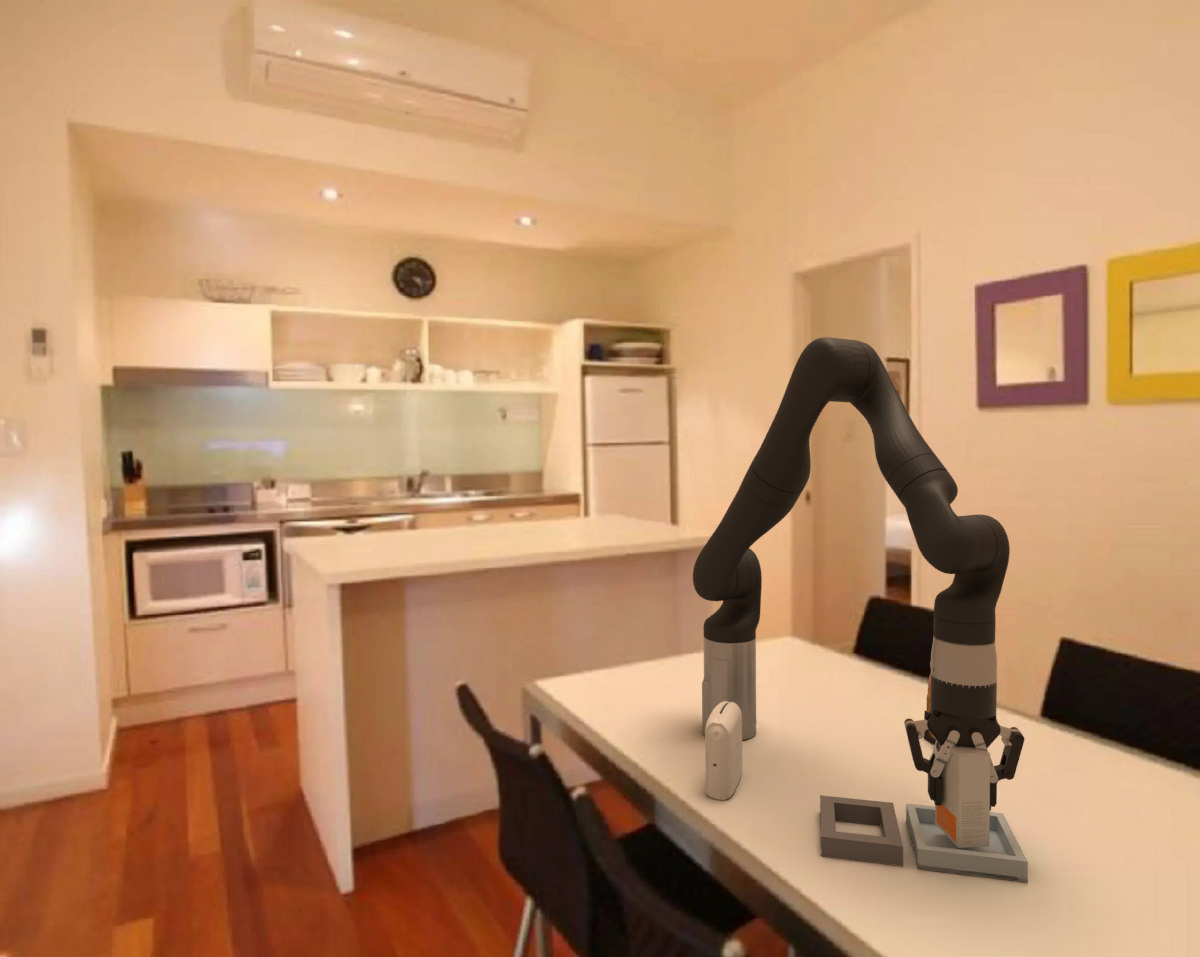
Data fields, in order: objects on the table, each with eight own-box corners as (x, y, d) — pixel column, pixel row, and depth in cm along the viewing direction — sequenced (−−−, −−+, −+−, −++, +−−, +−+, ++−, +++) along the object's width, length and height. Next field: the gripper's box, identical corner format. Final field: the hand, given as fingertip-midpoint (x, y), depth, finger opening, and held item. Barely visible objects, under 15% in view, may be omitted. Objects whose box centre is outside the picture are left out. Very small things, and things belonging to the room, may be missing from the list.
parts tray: (917, 868, 94) (918, 848, 94) (906, 821, 105) (906, 803, 105) (1027, 882, 91) (1027, 861, 90) (1002, 831, 102) (1003, 813, 102)
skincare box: (933, 824, 101) (934, 734, 100) (965, 823, 101) (966, 733, 100) (957, 849, 95) (958, 754, 94) (991, 847, 95) (992, 752, 94)
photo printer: (731, 802, 111) (730, 718, 111) (702, 798, 113) (701, 715, 112) (745, 773, 121) (744, 696, 120) (718, 769, 122) (717, 693, 122)
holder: (821, 855, 97) (821, 836, 97) (820, 812, 108) (820, 795, 108) (902, 866, 94) (902, 846, 94) (892, 820, 105) (893, 802, 105)
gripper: (905, 678, 95) (904, 813, 96) (1035, 687, 91) (1032, 826, 92) (899, 661, 102) (898, 786, 103) (1018, 668, 99) (1016, 798, 99)
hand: (961, 804), depth 98 cm, fingers closed on skincare box, 5 cm apart
